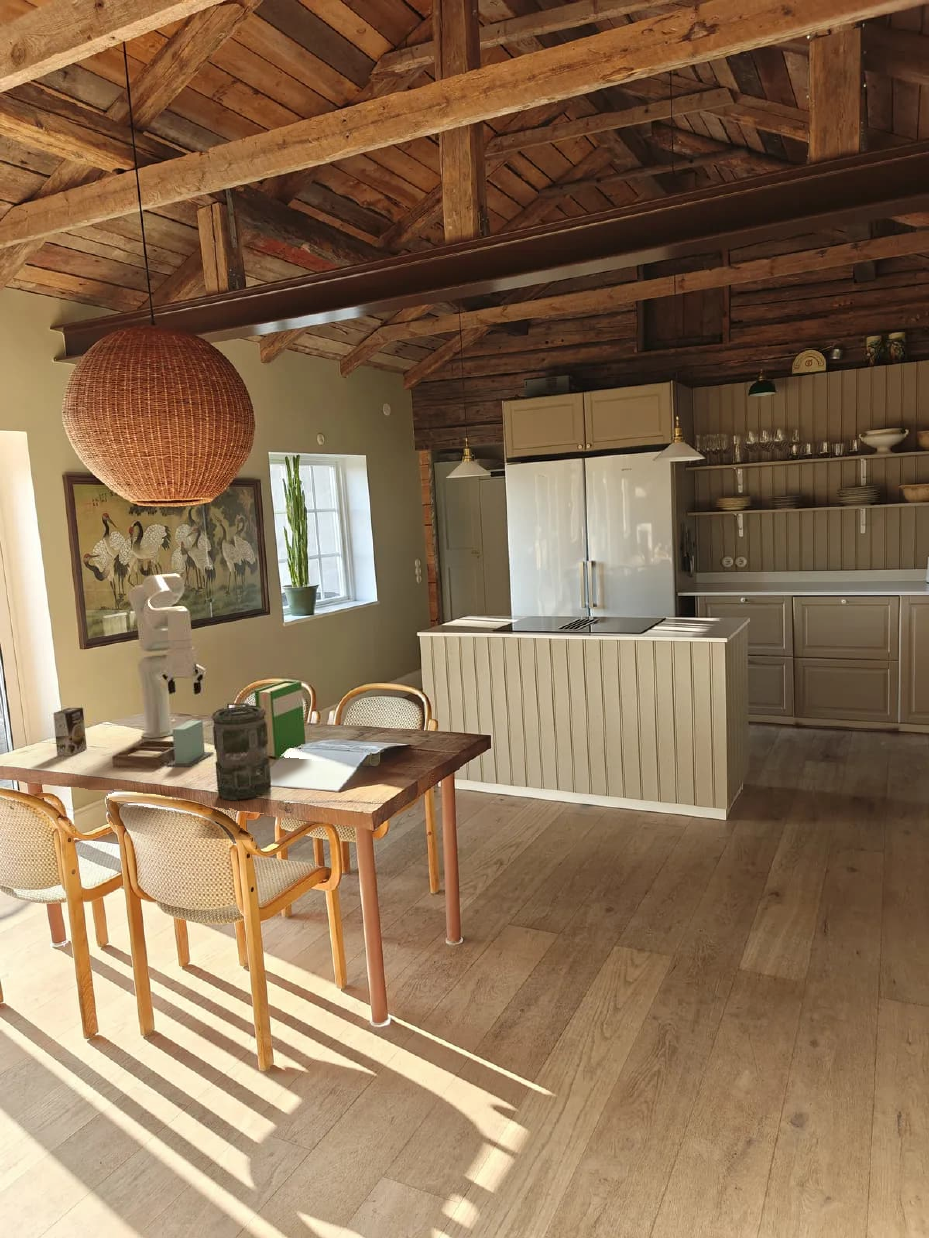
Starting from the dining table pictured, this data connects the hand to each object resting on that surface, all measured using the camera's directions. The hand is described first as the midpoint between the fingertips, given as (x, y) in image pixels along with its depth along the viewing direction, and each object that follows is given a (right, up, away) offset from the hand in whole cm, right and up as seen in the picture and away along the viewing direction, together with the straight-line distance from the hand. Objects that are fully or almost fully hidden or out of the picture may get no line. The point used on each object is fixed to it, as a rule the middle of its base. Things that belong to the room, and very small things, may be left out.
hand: (184, 693), depth 301 cm
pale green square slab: (+1, -23, +3) cm, 23 cm away
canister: (+30, -28, -36) cm, 55 cm away
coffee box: (-48, -24, +20) cm, 58 cm away
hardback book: (+32, -22, +9) cm, 40 cm away
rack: (-14, -24, +6) cm, 28 cm away
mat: (+1, -24, +3) cm, 24 cm away
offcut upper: (-14, -23, +2) cm, 27 cm away
